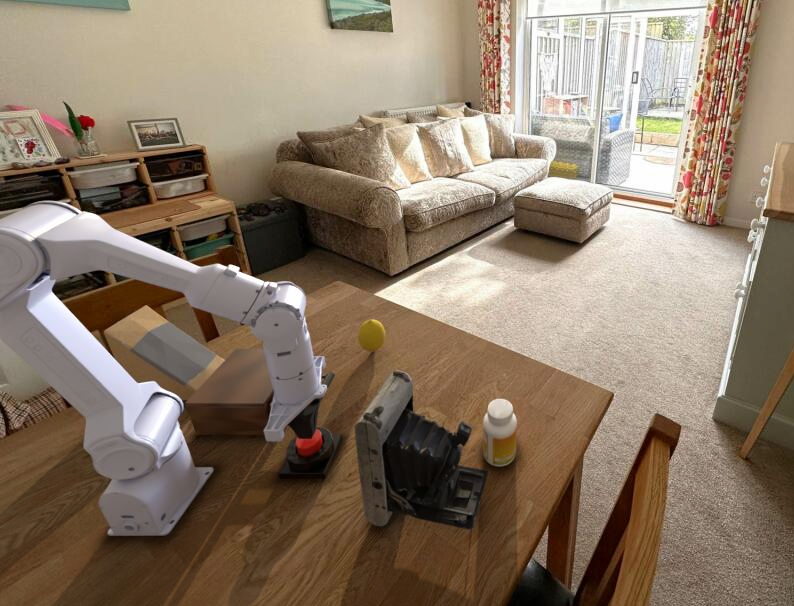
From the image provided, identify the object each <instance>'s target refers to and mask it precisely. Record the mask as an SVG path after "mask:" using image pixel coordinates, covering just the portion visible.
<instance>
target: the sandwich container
mask: <svg viewBox="0 0 794 606" xmlns="http://www.w3.org/2000/svg"><path fill="white" fill-rule="evenodd" d="M103 335H104V337H105V339H106V342H107V344H108V346H109V349H110V351H111V353H112V355H113V358H114V359H115V360H116V361H117V362H118V363H119V364H120V365H121V366H122V367H123V368H124V370H125V371H126V372H127V373H128V374H129V375H130V376H131V377H132V378H133V379H134V380H135V381H136V382H137V383H144V382H150V381H154V382H156V383H157V384H158V385H159V386H160V387H161V388H162V389H164V390H166V391H168V392H171V393H174V394H175V395H177V396H178V397H179V398H180V399H181V400H182V401H187V400H188V399H189V398H190V397H191V396H192V395H193V394H194V393H195V392H196V391H197V390H198V389H199V388H200V387H201V385H202V384H203V383H204V382H205V381H206V380H207V379H208V378H209V377H210V376H211V375H212V374H213V373H214V372H215V370H216V369H217V368H218V367H219V366H220V365H221V364H222V363H223V362H224V361H225V360H226V359H224V358H222V357H220V356H219V355H217V354H216V353H215V352H213V351H212V350H210V348H209V349H208V348H207V347H205V346H204V345H203V344H202V343H200V342H198V341H197V340H196V339H194V338H193V337H192V336H190V335H188V334H187V333H185V332H184V331H183V330H182V329H180V328H178V327H177V326H175V325H174V324H173V323H171V322H170V321H169V320H167V319H166V318H164V316H161V315H160V314H159V313H157V312H156V311H155V310H154V309H152V308H151V307H149V305H144V306H142V307H141V308H139V309H137V310H135V311H134V312H132V313H131V314H129V315H127V316H126V317H124V318H122V319H121V320H119V321H117V322H116V323H114V324H113V325H111V326H110V327H108V328H106V329H104V330H103Z"/></svg>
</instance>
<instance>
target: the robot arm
mask: <svg viewBox="0 0 794 606" xmlns="http://www.w3.org/2000/svg"><path fill="white" fill-rule="evenodd" d="M240 269H241V268H240V267H239V266H236V265H233V264H228V265H223V264H220V263H214V264H213V263H212V264H209V265H204V266H199V265H196V264H194V263H192V262H189V261H187V260H185V259H183V258H180V257H178V256H176V255H173V254H172V253H170V252H167V251H165V250H162V249H161V248H158V247H156V246H154V245H152V244H150V243H147V242H145V241H142V240H140V239H137V238H136V237H133V236H131V235H129V234H126V233H124V232H122V231H119V230H117V229H115V228H113V227H112V226H111V225H110V224H109V223H107V222H106V221H105V220H104V219H103V218H102V217H101V216H100V215H98V214H96V213H92V212H88V211H85V210H83V211H81V210H80V209H79V208H77V207H75V206H74V205H71V204H69V203H65V202H62V201H57V200H41V201H40V200H39V201H36V202H33V203H32V202H31V203H30V204H28V205H26V206H24V207H22V208H21V209H20V210H18V211H15V212H14V213H12V214H9V215H6V216H5V217H2V218H0V341H2V342H3V343H4V344H5V345H6V346H7V347H8V348H9V349H11V351H13V352H14V354H16V355H17V356H18V357H19V358H20V359H21V360H23V362H25V364H27V365H28V366H29V367H30V368H31V369H32V370H33V371H34V372H35V373H36V374H38V375H39V376H40V377H41V378H42V379H43V380H44V381H45V382H46V383H47V384H48V385H49V386H51V388H53V389H54V390H55V391H56V393H58V394H59V395H60V396H61V397H62V398H63V399H65V401H67V402H68V403H69V404H70V405H71V406H72V407H73V408H74V409H75V410H76V411H77V412H79V414H81V415H82V416H83V417H84V419H85V427H84V436H83V449H84V451H86V452H87V453H88V455H90V457H91V459H92V465H93V468H94V470H95V471H96V472H97V474H99V475H101V476H102V477H105V478H106V479H110V482H109V484H108V485H107V487H106V489H105V490H104V491H103V493H102V494H101V495H100V497H99V499H98V507H99V509H100V511H101V513H102V514H103V516H104V518H105V520H106V523H107V524H108V526H109V529H108V531H107V535H108V536H110V537H121V536H122V537H132V536H133V537H135V536H136V537H137V536H138V537H141V536H142V537H144V536H145V537H146V536H148V537H149V536H150V537H151V536H152V537H153V536H157V537H159V536H162V537H163V536H168V535H169V534H170V533H171V532H172V530H173V529H174V528H175V526H176V525H177V524H178V522H179V520H180V519H181V518H182V516H183V515H184V514H185V512H186V511H187V509H188V508H189V507H190V505H191V504H192V502H194V500H195V498H196V497H197V496H198V494H199V492H200V491H201V490H202V488H203V487H204V486H205V484H206V483H207V481H208V480H209V479H210V477H211V476H212V474H213V473H214V471H215V468H214V467H213V466H200V467H199V466H195V464H194V460H193V457H192V455H191V452H190V449H189V447H188V445H187V442H186V439H185V436H184V434H183V431H182V430H181V428H180V422H179V418H180V417H181V415H182V413H183V411H184V402H183V400H181V399H180V398H179V397H178V396H177V395H175V394H174V393H171V392H168V391H166V390H164V389H162V388H161V387H160V386H159V385H158V384H157V383H156V382H154V381H150V382H144V383H137V382H136V381H135V380H134V379H133V378H132V377H131V376H130V375H129V374H128V373H127V372H126V371H125V370H124V368H123V367H122V366H121V365H120V364H119V363H118V362H117V361H116V360H115V357H114V356H112V354H111V353H109V351H108V350H107V349H106V348H105V347H104V346H103V345H102V344H101V342H100V341H99V340H98V339H97V338H96V337H95V336H94V335H93V334H92V333H91V332H90V331H89V329H87V327H85V325H84V324H83V323H82V322H81V321H80V320H79V319H78V318H77V317H76V316H75V315H74V314H73V313H72V312H71V311H70V309H69V308H68V307H67V306H66V305H65V304H64V303H63V302H62V301H61V300H60V299H59V297H57V295H55V293H54V292H53V287H54V286H55V283H56V281H57V280H61V279H66V278H70V277H75V276H78V275H83V274H87V273H91V272H97V271H104V272H106V273H109V274H110V273H111V274H114V275H118V276H121V277H125V278H128V279H132V280H136V281H140V282H143V283H146V284H150V285H154V286H157V287H161V288H164V289H168V290H171V291H175V292H179V293H182V294H183V295H184V297H185V299H186V301H187V304H188V305H189V306H190V307H192V308H194V309H198V310H200V311H204V312H206V313H210V314H213V315H216V316H219V317H222V318H225V319H228V320H230V321H234V322H237V323H240V324H243V325H246V326H249V327H250V328H249V329H250V332H251V333H252V335H253V336H254V337H255V338H256V339H257V340H259V341H261V342H262V345H263V346H262V347H263V348H262V349H264V352H265V356H266V361H267V365H268V369H269V373H270V378H271V382H272V386H273V390H274V397H273V401H272V406H271V411H270V416H269V420H268V423H267V426H266V427H265V429H264V435H263V436H264V438H265V441H266V442H272V443H273V442H282V441H283V439H284V438H285V431H284V430H285V428H286V427H287V426H288V427H289V428H290V429H291V430H292V431H293V433H294V434H295V435H296V436H297V437H298V438H299V439H312V437H313V435H314V433H315V431H316V427H317V423H318V415H319V409H320V405H321V402H322V400H323V399H322V397H323V396H324V397H325V395H326V393H327V391H328V389H327V386H326V385H322V379H321V375H322V374H323V370H325V368H326V366H327V364H326V357H325V356H320V355H319V356H318V355H317V356H316V355H314V352H313V346H312V340H311V335H310V332H309V330H308V324H307V321H306V316H305V311H306V306H307V296H306V293H305V292H304V290H303V289H302V288H301V287H299V286H298V285H296V284H295V283H293V282H292V281H286V280H284V281H283V280H282V281H276V282H272V281H264V280H261V279H259V278H257V277H255V276H251V275H248V274H246V273H244V272H241V271H240ZM325 392H326V393H325ZM324 394H325V395H324ZM324 397H323V398H324ZM321 399H322V400H321Z"/></svg>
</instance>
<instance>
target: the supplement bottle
mask: <svg viewBox="0 0 794 606" xmlns="http://www.w3.org/2000/svg"><path fill="white" fill-rule="evenodd" d="M517 427H518V421H517V416H516V415H515V414H514V407H513V405H512V403H511V402H510V401H509V400H508V399H505V398H496V399H493V400H492V401H490V402H489V403H488V406H487V412H486V413H485V415H484V417H483V420H482V451H483V452H482V454H483V457H484V459H485V461H486V462H487V463H488V464H490V466H494V467H498V468H499V467H505V466H508V465H510V464H511V463H512V462H513V461H514V460H515V457H516V454H517V433H518V432H517V431H518V428H517Z"/></svg>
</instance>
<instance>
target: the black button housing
mask: <svg viewBox="0 0 794 606" xmlns="http://www.w3.org/2000/svg"><path fill="white" fill-rule="evenodd" d="M316 429H318V430H319V431H320V432H321V436H322V441H323V443H322V446H321V448H320V449H319V450H318V451H317V452H316V453H315V454H312V455H310V456H301V455H299V454H298V451H297V447H296V439H297V435H296V436H295V437H293V438H292V439H291V440H290V443H289V444H288V446H287V447H286V450H285V451H286V458H285V461H284V462H283V464H282V466H281V467H280V470H279V471H278V473H277V474H278V478H279V479H281V480H283V479H284V480H286V479H289V480H291V479H292V480H294V479H299V480H301V479H304V480H305V479H308V480H309V479H310V480H311V479H313V480H314V479H315V480H316V479H317V480H318V479H319V480H321V479H323V480H324V479H327V477H328V474H329V472H330V470H331V469H332V465H333V463H334V461H335V459H336V456H337V453H338V451H339V449H340V447H341V444H342V441H343V439H344V438H343V434H341V433H332V431H330V430H329V429H327V428H325V427H323V426H322V427H317V426H316Z"/></svg>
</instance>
